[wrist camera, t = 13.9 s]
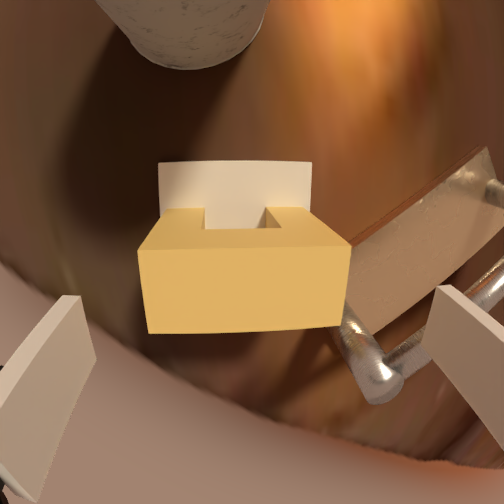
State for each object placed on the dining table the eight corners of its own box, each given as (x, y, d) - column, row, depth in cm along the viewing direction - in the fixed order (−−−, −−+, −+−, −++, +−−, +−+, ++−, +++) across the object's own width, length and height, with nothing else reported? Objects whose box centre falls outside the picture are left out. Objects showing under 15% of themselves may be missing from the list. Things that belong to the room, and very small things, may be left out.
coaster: (309, 161, 21) (311, 162, 21) (301, 296, 24) (303, 299, 24) (159, 162, 20) (158, 162, 20) (168, 300, 23) (167, 303, 23)
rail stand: (478, 144, 22) (566, 159, 12) (500, 218, 24) (575, 251, 15) (294, 279, 24) (339, 362, 15) (339, 345, 27) (386, 428, 17)
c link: (170, 265, 22) (148, 333, 14) (166, 208, 21) (137, 250, 13) (299, 262, 23) (340, 325, 15) (302, 206, 22) (351, 245, 14)
